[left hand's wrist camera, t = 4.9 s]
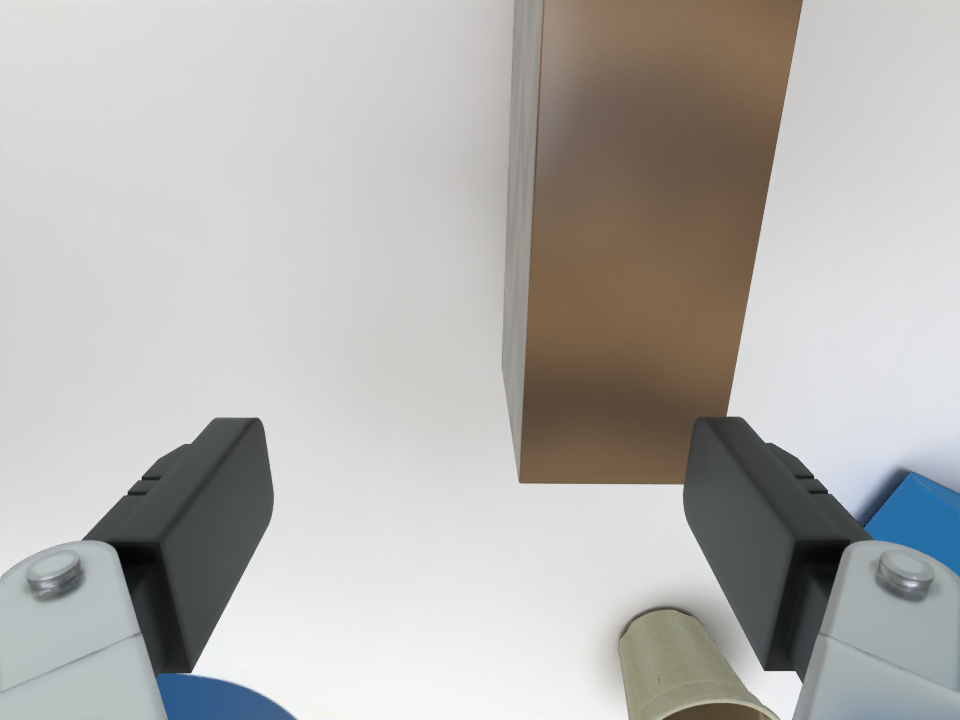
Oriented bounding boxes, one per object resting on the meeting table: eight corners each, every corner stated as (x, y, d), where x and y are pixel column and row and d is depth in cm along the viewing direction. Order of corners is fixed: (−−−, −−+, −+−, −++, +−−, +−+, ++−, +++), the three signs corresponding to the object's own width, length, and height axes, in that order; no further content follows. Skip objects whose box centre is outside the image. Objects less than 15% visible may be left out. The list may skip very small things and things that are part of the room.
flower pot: (673, 564, 40) (726, 673, 32) (755, 639, 43) (823, 758, 35) (568, 642, 42) (593, 762, 34) (652, 709, 45) (693, 836, 37)
